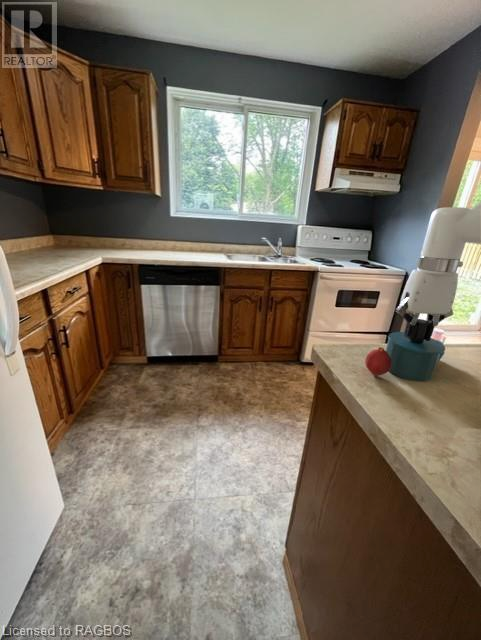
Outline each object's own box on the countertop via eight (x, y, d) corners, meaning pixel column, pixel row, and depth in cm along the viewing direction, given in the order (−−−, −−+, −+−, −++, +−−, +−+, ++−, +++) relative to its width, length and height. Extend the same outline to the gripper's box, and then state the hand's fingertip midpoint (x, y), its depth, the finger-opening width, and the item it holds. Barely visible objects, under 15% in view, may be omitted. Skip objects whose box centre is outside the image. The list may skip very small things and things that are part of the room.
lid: (424, 336, 75) (431, 314, 73) (456, 358, 63) (465, 331, 61) (379, 334, 75) (384, 311, 73) (402, 355, 64) (410, 329, 61)
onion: (367, 367, 72) (374, 339, 69) (391, 375, 68) (398, 347, 65) (358, 374, 68) (365, 345, 65) (382, 384, 64) (390, 354, 62)
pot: (415, 360, 77) (423, 336, 74) (442, 382, 66) (452, 355, 64) (375, 357, 77) (381, 333, 75) (395, 380, 66) (403, 352, 64)
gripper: (461, 264, 66) (439, 334, 72) (393, 261, 66) (377, 331, 72) (487, 269, 59) (460, 346, 65) (410, 266, 59) (390, 343, 65)
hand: (416, 337), depth 69 cm, fingers closed on lid, 3 cm apart
